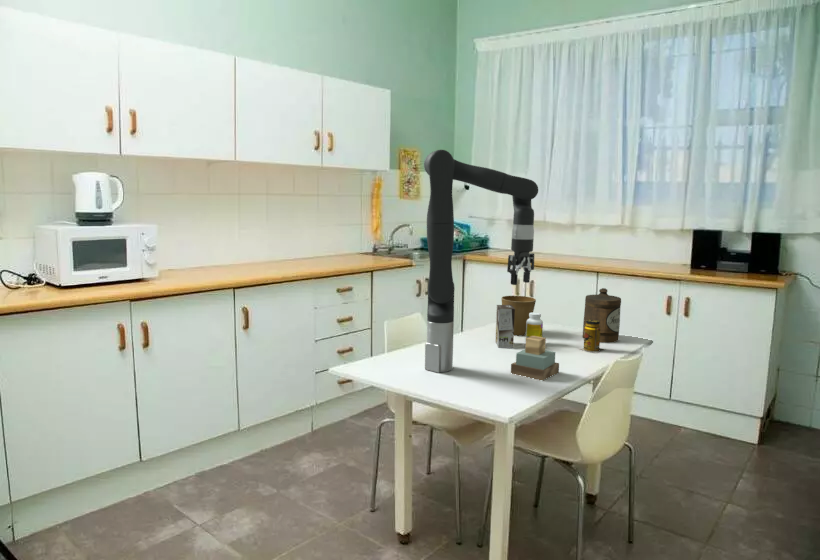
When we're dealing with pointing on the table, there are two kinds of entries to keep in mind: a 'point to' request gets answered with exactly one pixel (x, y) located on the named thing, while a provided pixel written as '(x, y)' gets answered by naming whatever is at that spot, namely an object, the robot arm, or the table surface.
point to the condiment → (592, 336)
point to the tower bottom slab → (535, 371)
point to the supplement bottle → (534, 325)
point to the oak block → (535, 345)
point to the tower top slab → (535, 359)
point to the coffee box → (505, 326)
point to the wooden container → (604, 314)
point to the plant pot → (520, 311)
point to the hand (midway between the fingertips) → (520, 283)
